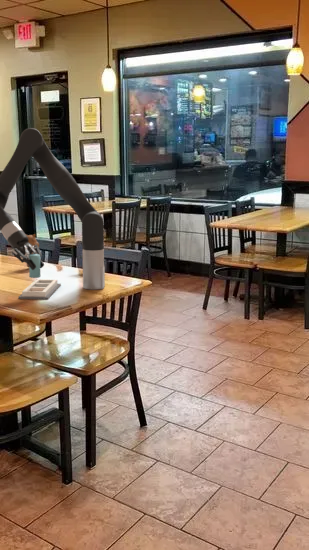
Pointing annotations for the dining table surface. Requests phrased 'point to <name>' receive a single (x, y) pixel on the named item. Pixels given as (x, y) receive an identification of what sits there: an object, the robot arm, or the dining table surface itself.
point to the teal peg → (36, 271)
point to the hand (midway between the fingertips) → (38, 267)
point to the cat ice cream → (32, 242)
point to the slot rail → (40, 289)
